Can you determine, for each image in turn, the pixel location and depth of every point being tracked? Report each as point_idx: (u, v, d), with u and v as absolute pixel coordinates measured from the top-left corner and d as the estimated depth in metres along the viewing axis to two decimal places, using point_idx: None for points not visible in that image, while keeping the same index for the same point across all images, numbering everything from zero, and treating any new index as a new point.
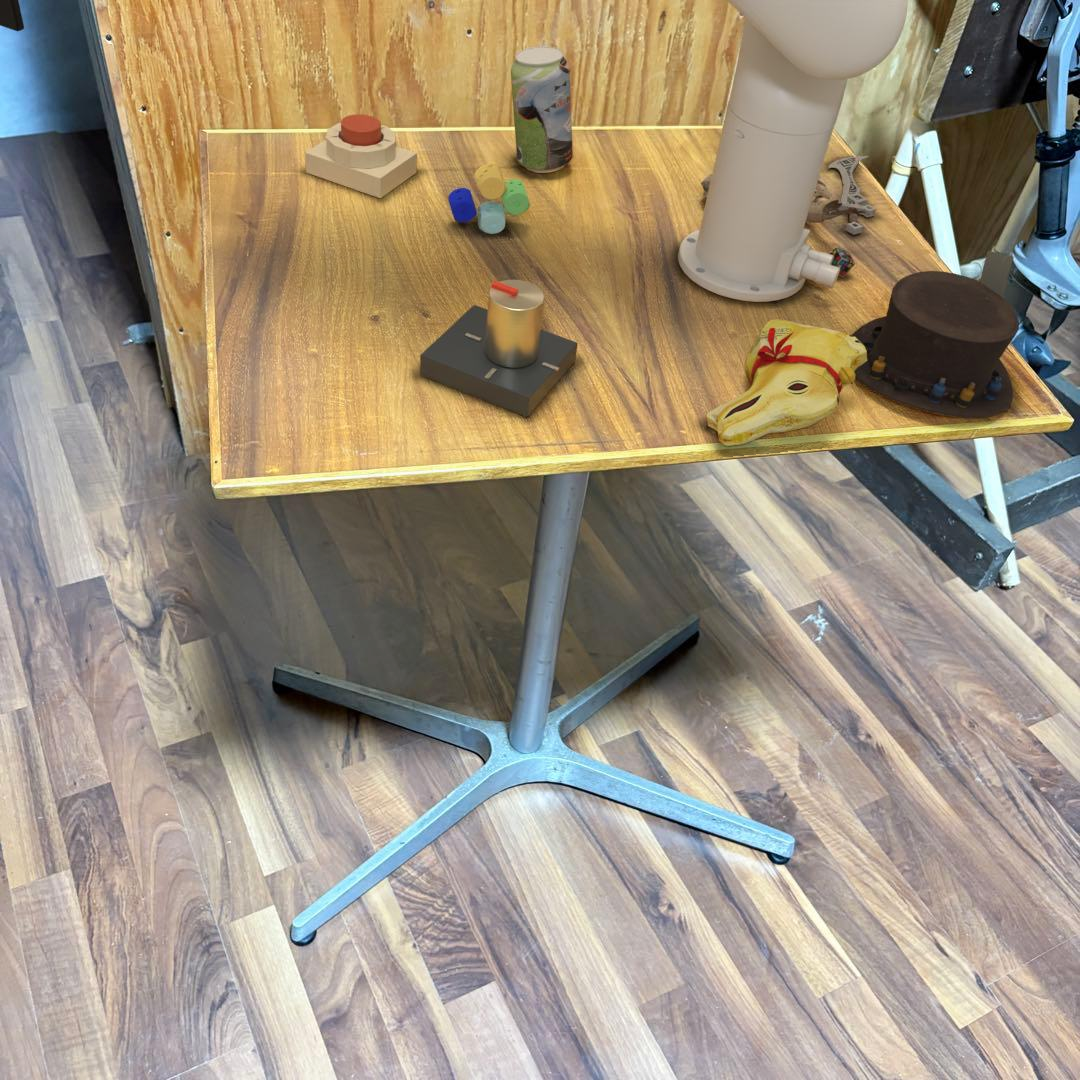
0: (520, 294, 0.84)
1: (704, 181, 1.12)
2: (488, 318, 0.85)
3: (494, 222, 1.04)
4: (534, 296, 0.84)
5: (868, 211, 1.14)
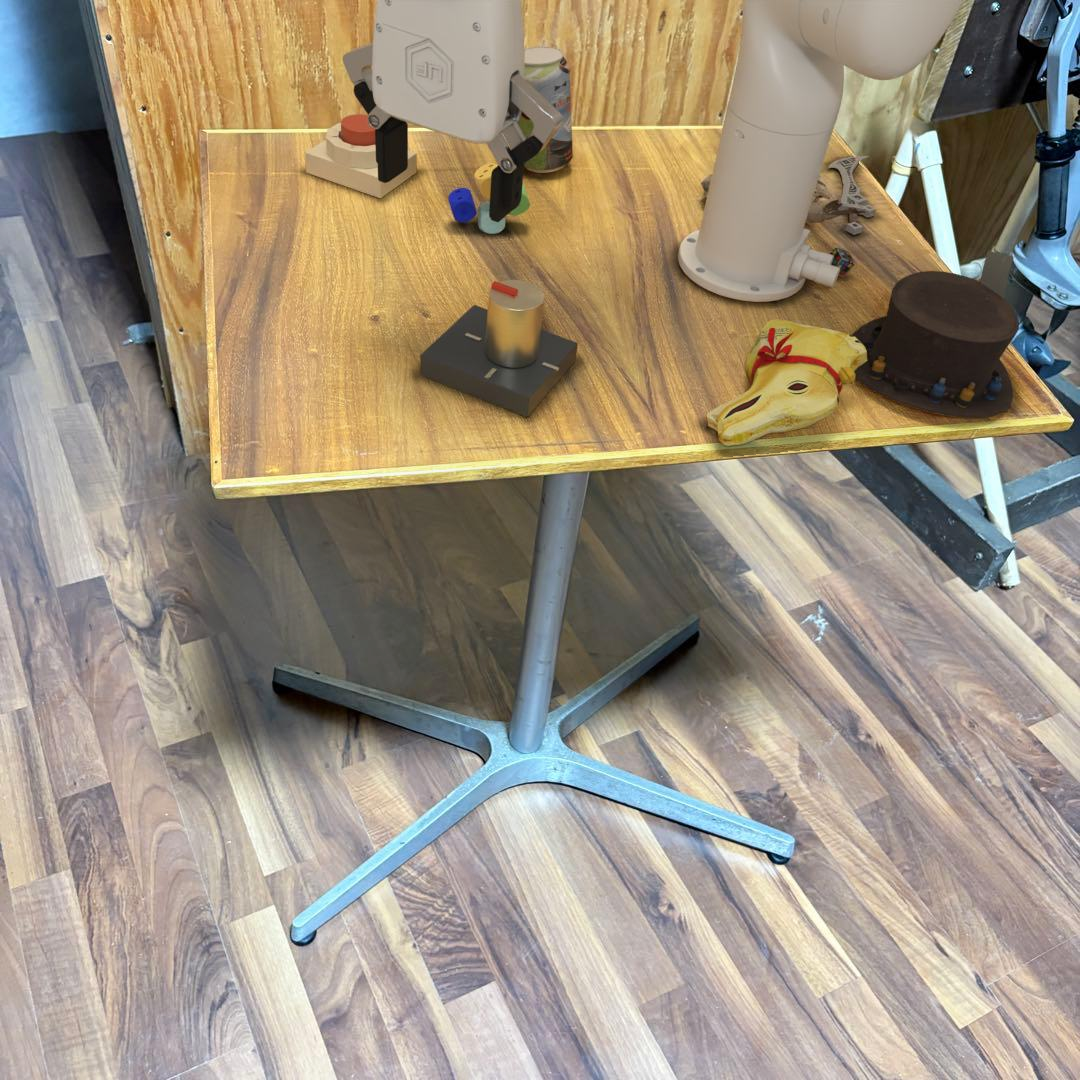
0: (520, 294, 0.84)
1: (704, 181, 1.12)
2: (488, 318, 0.85)
3: (494, 222, 1.04)
4: (534, 296, 0.84)
5: (868, 211, 1.14)
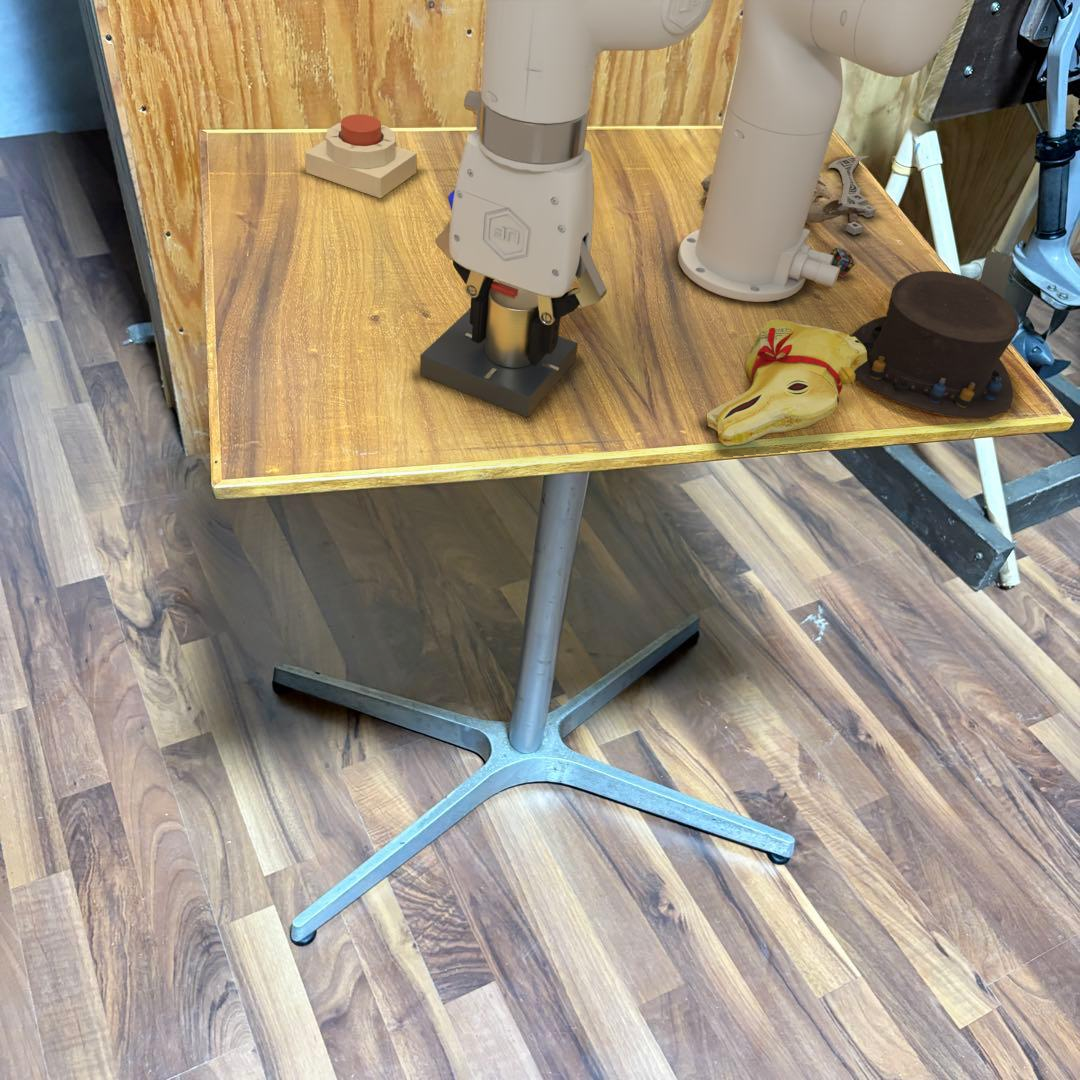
0: (520, 294, 0.84)
1: (704, 180, 1.12)
2: (488, 318, 0.85)
3: None
4: (534, 296, 0.84)
5: (868, 211, 1.14)
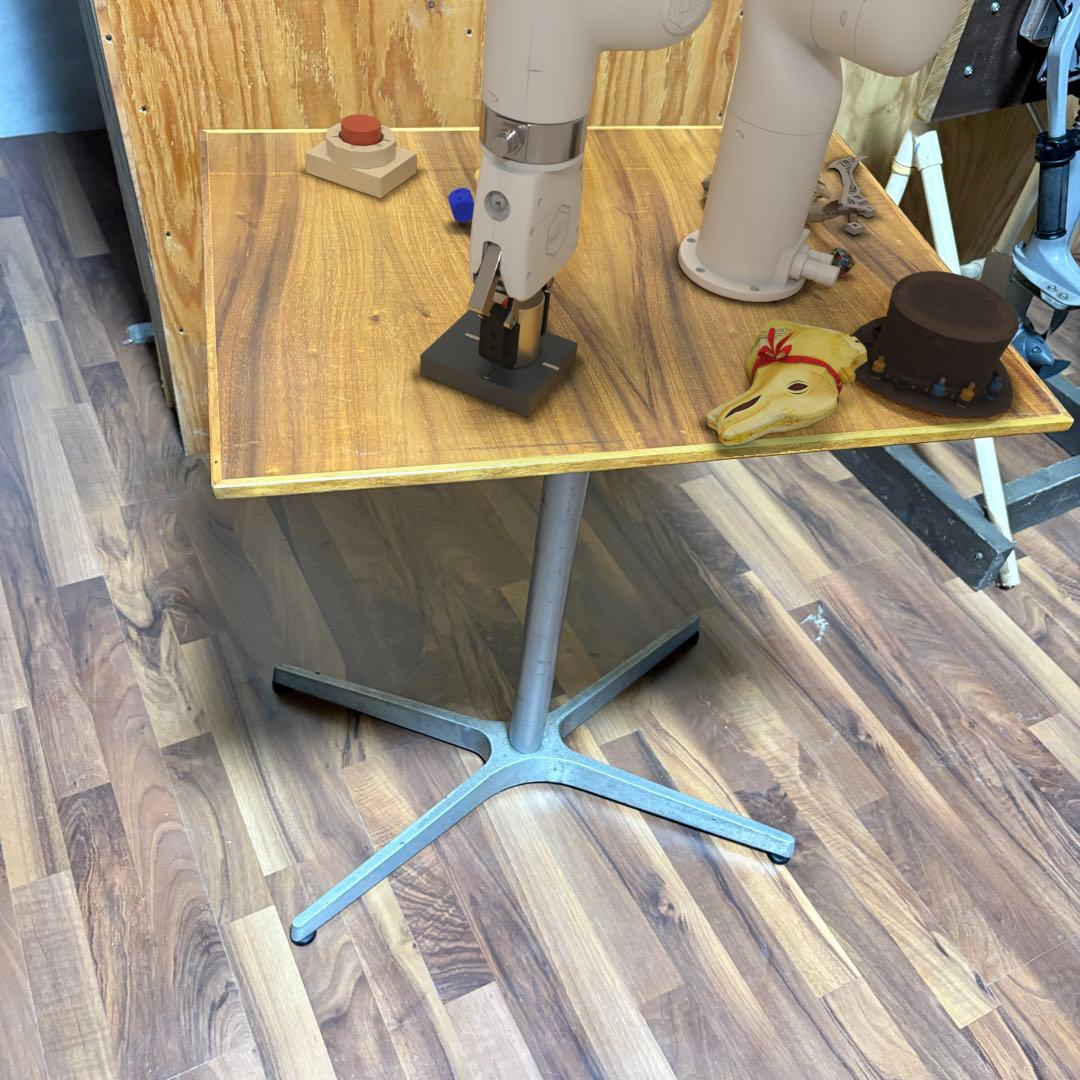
0: None
1: (704, 181, 1.12)
2: (523, 331, 0.84)
3: None
4: None
5: (868, 211, 1.14)
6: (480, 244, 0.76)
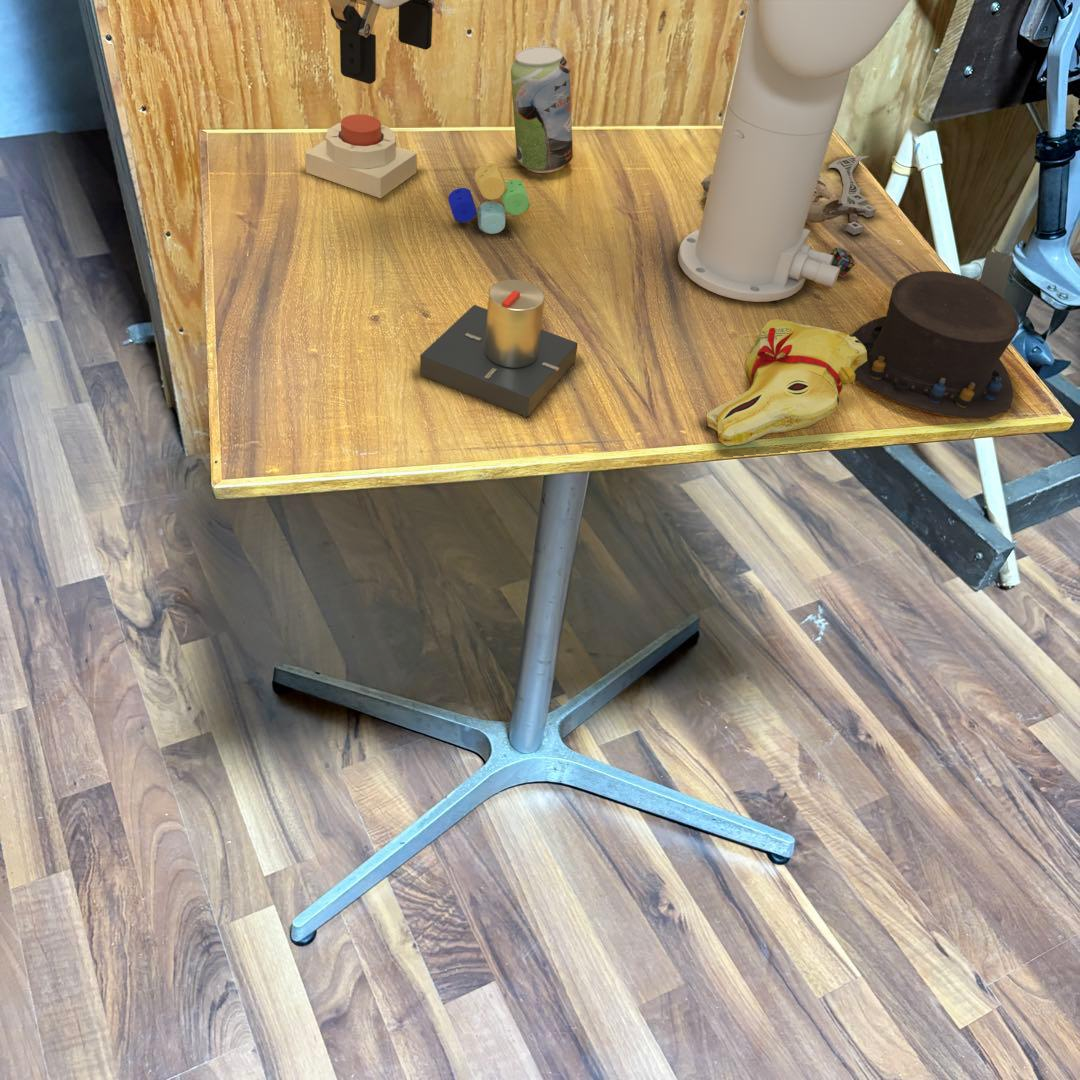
0: (516, 292, 0.84)
1: (704, 180, 1.12)
2: (523, 331, 0.84)
3: (494, 222, 1.04)
4: (518, 284, 0.85)
5: (868, 211, 1.14)
6: None
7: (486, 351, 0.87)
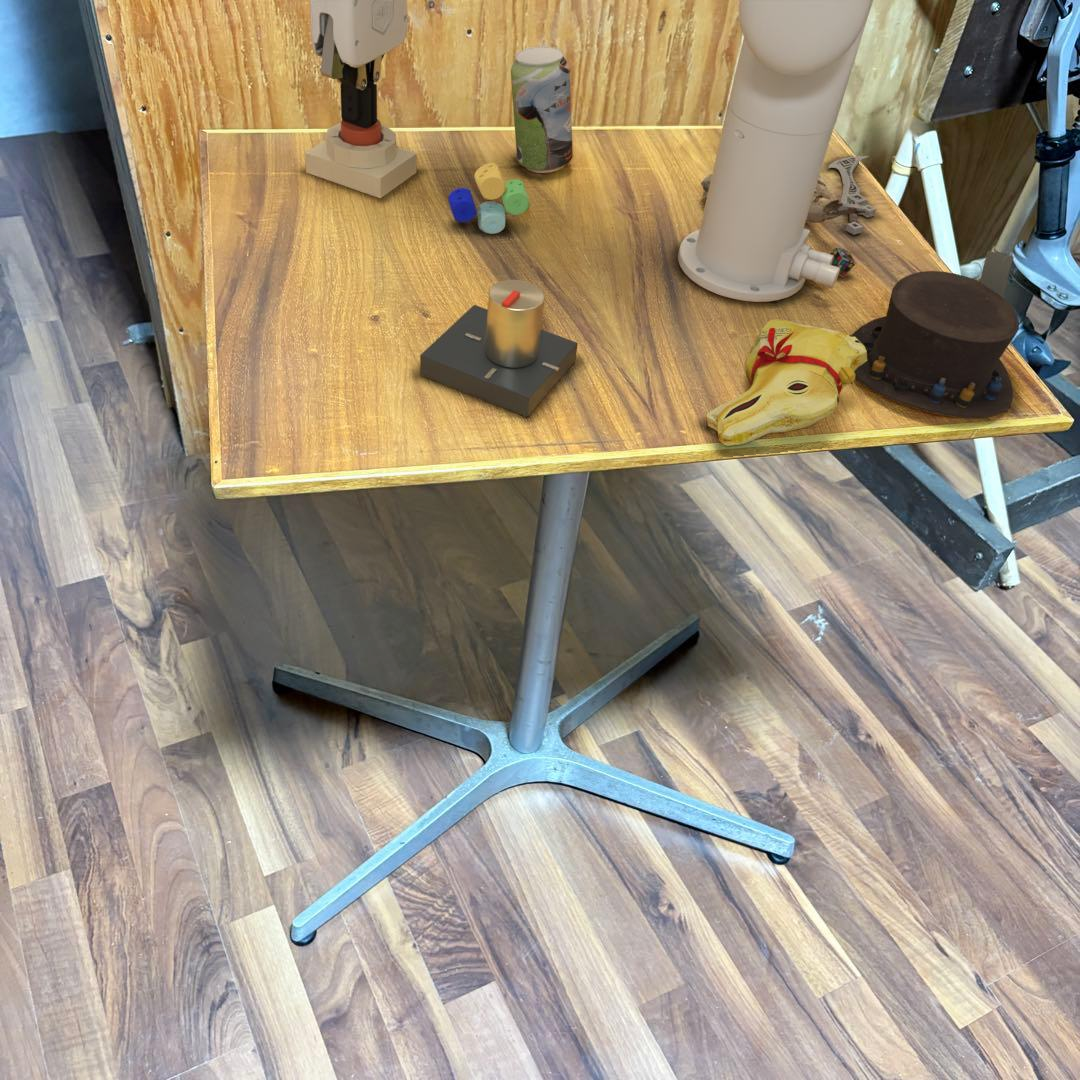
0: (516, 292, 0.84)
1: (704, 180, 1.12)
2: (523, 331, 0.84)
3: (494, 222, 1.04)
4: (518, 284, 0.85)
5: (868, 211, 1.14)
6: (317, 16, 0.96)
7: (486, 351, 0.87)
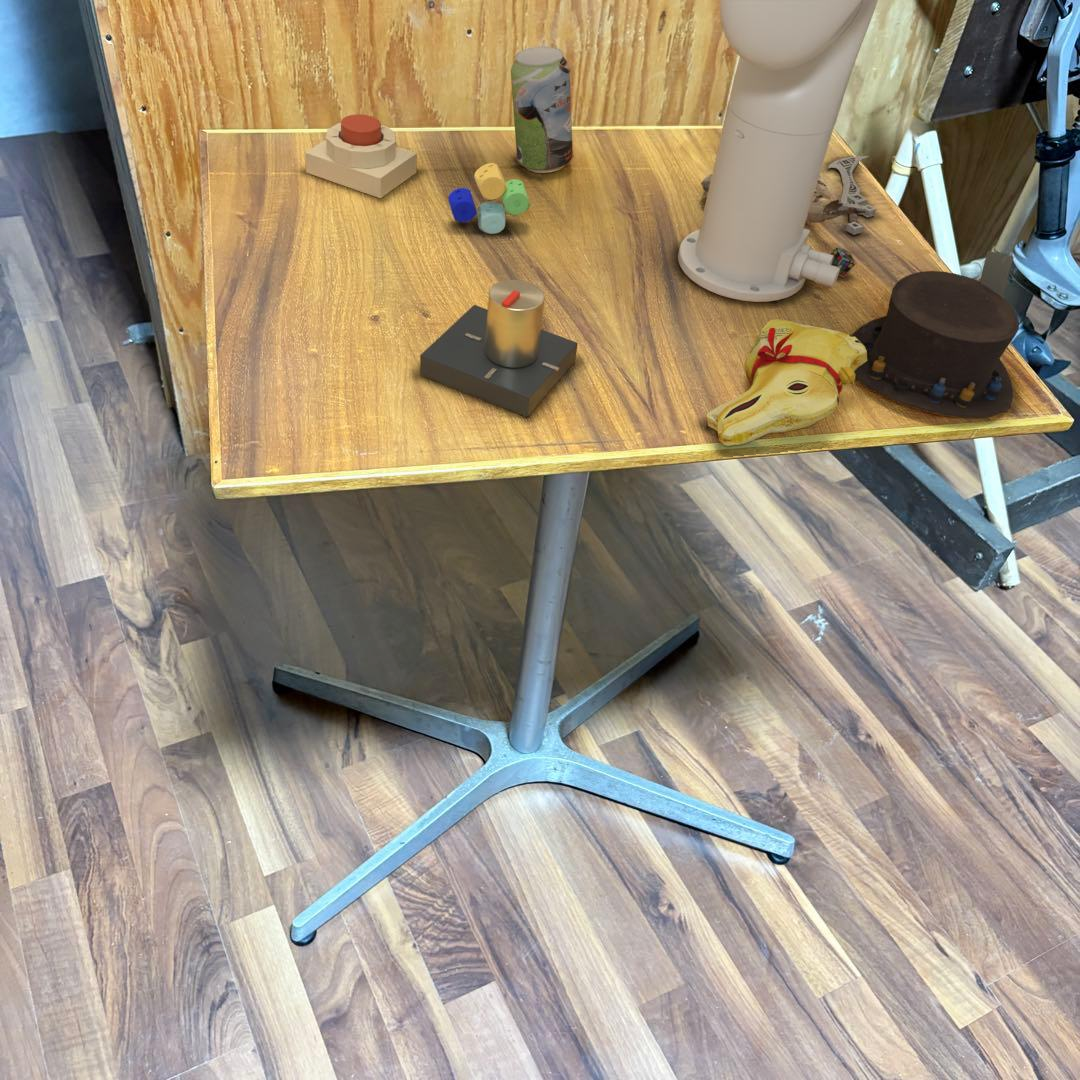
0: (516, 292, 0.84)
1: (704, 180, 1.12)
2: (523, 331, 0.84)
3: (494, 222, 1.04)
4: (518, 284, 0.85)
5: (868, 211, 1.14)
6: None
7: (486, 351, 0.87)
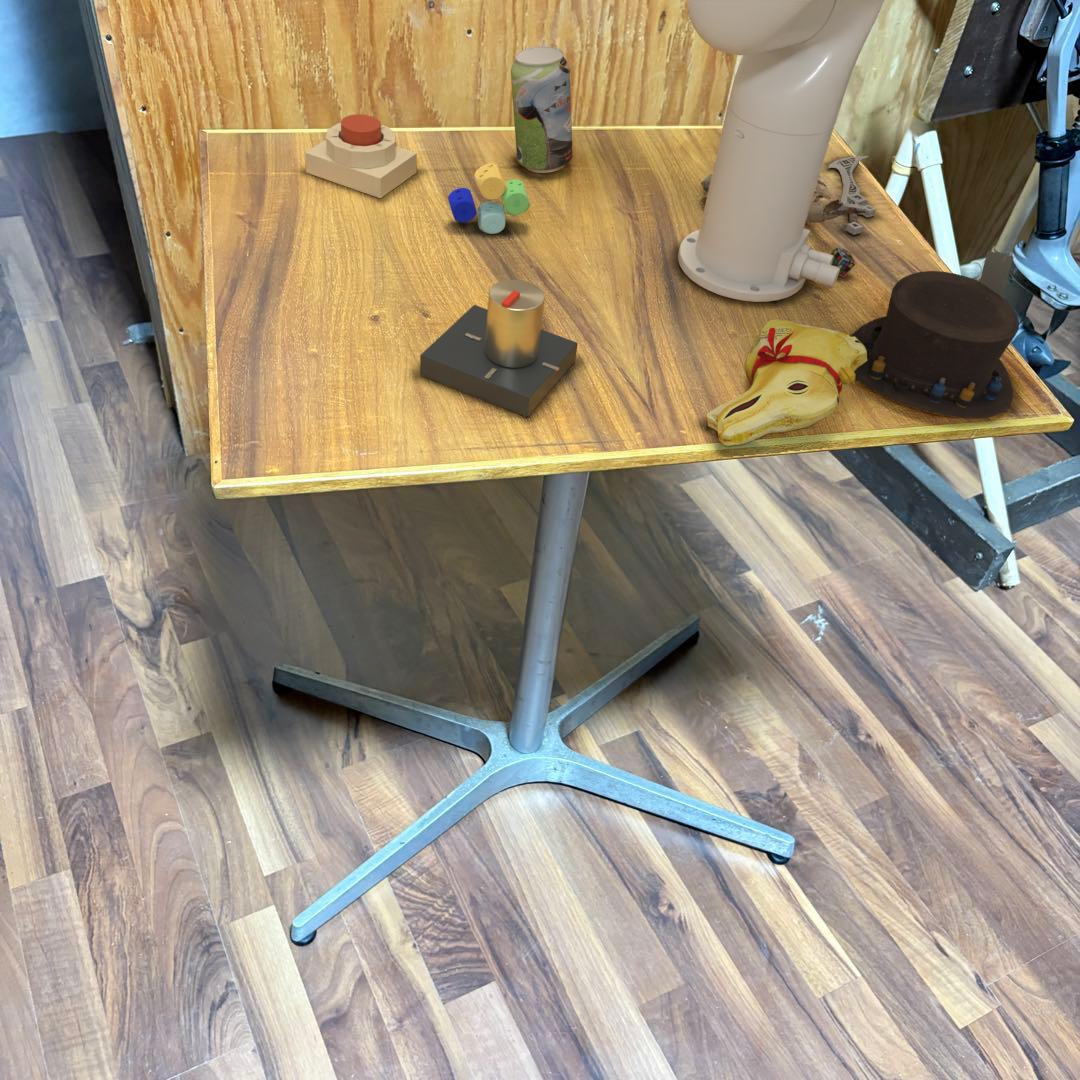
0: (516, 292, 0.84)
1: (704, 180, 1.12)
2: (523, 331, 0.84)
3: (494, 222, 1.04)
4: (518, 284, 0.85)
5: (868, 211, 1.14)
6: None
7: (486, 351, 0.87)
